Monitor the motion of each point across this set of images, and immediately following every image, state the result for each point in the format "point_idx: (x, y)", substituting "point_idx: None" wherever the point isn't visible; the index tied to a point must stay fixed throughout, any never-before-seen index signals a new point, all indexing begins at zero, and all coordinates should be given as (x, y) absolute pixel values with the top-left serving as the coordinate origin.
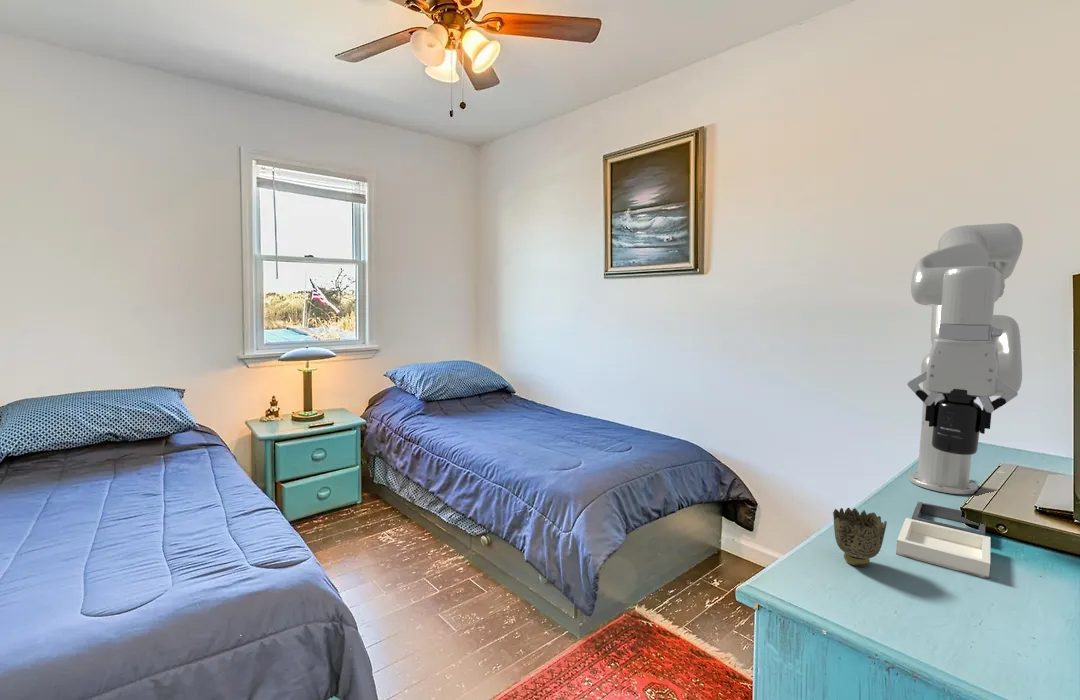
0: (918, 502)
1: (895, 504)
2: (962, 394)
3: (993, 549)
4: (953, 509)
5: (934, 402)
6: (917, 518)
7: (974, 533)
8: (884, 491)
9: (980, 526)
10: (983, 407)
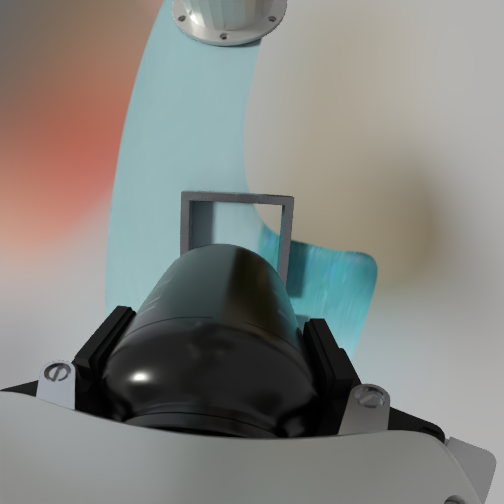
0: (183, 197)
1: (150, 178)
2: None
3: (292, 301)
4: (242, 197)
5: (94, 413)
6: None
7: None
8: (130, 111)
9: (281, 268)
10: (331, 429)
